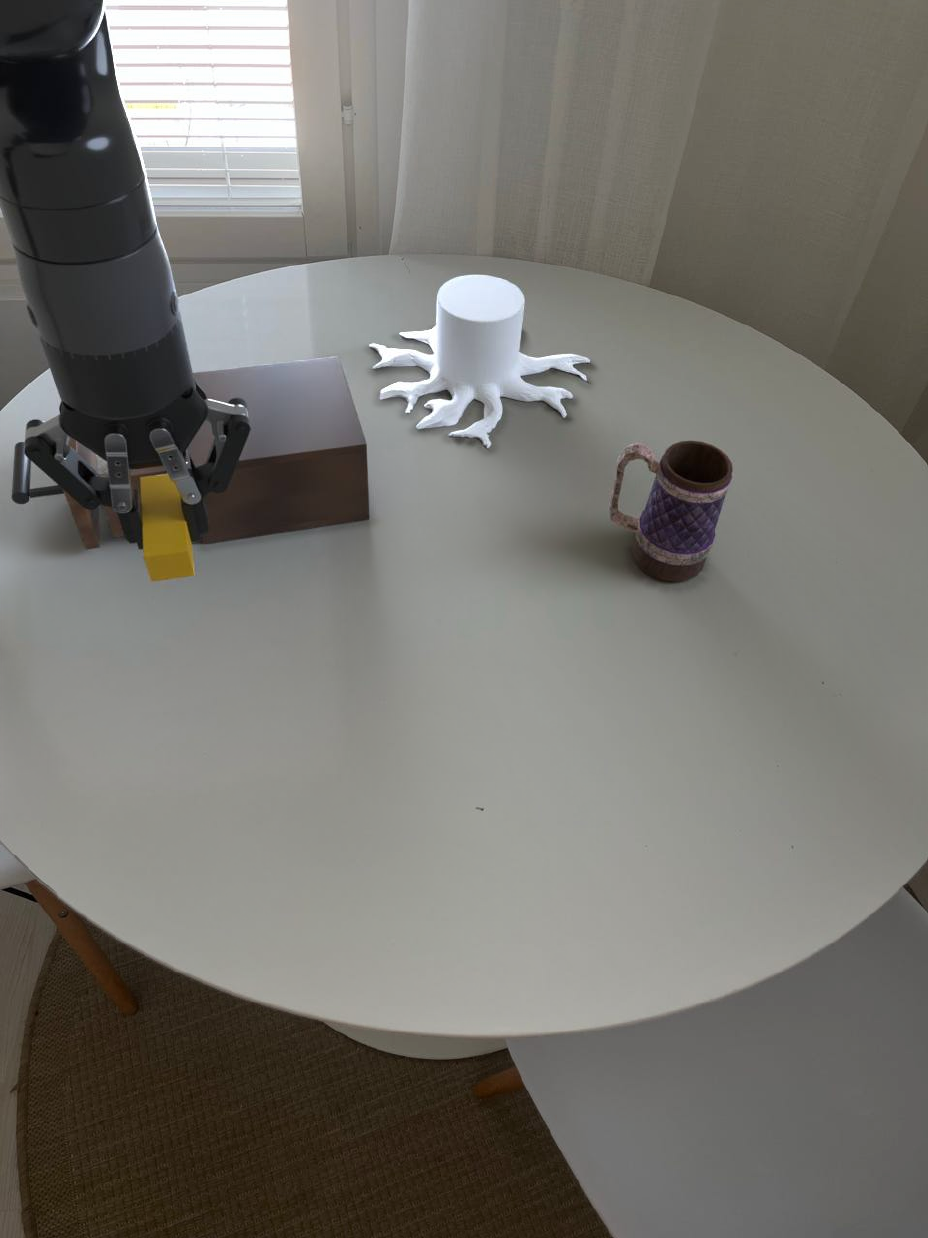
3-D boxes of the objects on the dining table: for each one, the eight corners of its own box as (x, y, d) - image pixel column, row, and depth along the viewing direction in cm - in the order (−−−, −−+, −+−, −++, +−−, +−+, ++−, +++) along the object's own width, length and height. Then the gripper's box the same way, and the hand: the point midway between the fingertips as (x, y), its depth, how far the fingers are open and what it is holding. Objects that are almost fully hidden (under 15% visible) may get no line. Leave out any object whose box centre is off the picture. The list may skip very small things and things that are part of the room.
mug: (709, 541, 88) (745, 443, 78) (699, 592, 83) (735, 495, 74) (606, 515, 89) (629, 416, 80) (590, 564, 85) (613, 465, 76)
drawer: (27, 558, 81) (-1, 497, 75) (31, 467, 88) (6, 405, 83) (249, 525, 85) (238, 465, 79) (234, 441, 92) (223, 380, 87)
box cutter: (194, 575, 60) (188, 550, 58) (151, 582, 60) (143, 556, 58) (187, 488, 66) (180, 462, 64) (147, 493, 65) (139, 467, 63)
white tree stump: (336, 353, 104) (331, 278, 97) (512, 297, 114) (519, 225, 107) (442, 466, 93) (445, 389, 86) (628, 392, 102) (645, 318, 95)
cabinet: (203, 544, 84) (184, 468, 77) (191, 450, 92) (173, 374, 85) (369, 519, 87) (366, 444, 80) (343, 431, 96) (338, 355, 89)
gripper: (232, 265, 53) (266, 488, 66) (-26, 285, 50) (63, 514, 63) (245, 337, 48) (279, 561, 61) (-39, 363, 45) (60, 592, 59)
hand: (169, 536), depth 62 cm, fingers closed on box cutter, 2 cm apart
